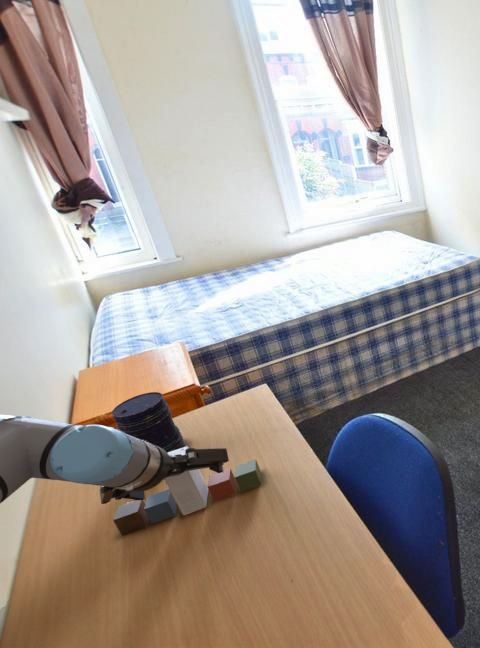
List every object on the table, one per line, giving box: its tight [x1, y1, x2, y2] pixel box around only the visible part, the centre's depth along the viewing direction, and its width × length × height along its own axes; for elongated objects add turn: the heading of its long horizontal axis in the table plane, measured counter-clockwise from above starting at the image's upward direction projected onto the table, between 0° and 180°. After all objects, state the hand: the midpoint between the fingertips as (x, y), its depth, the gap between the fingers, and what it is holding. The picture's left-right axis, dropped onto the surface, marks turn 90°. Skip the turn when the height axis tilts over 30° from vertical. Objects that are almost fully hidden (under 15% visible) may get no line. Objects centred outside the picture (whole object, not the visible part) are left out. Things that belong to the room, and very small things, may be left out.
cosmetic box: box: [163, 445, 209, 516], centre depth 95 cm, size 6×4×12 cm
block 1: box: [112, 500, 149, 536], centre depth 93 cm, size 4×4×4 cm
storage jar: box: [111, 391, 187, 453], centre depth 110 cm, size 10×10×15 cm
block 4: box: [234, 459, 262, 493], centre depth 101 cm, size 4×4×4 cm
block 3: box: [207, 467, 237, 502], centre depth 99 cm, size 4×4×4 cm
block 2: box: [144, 488, 178, 525], centre depth 95 cm, size 4×4×4 cm
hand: (182, 479), depth 94 cm, fingers open, 13 cm apart
